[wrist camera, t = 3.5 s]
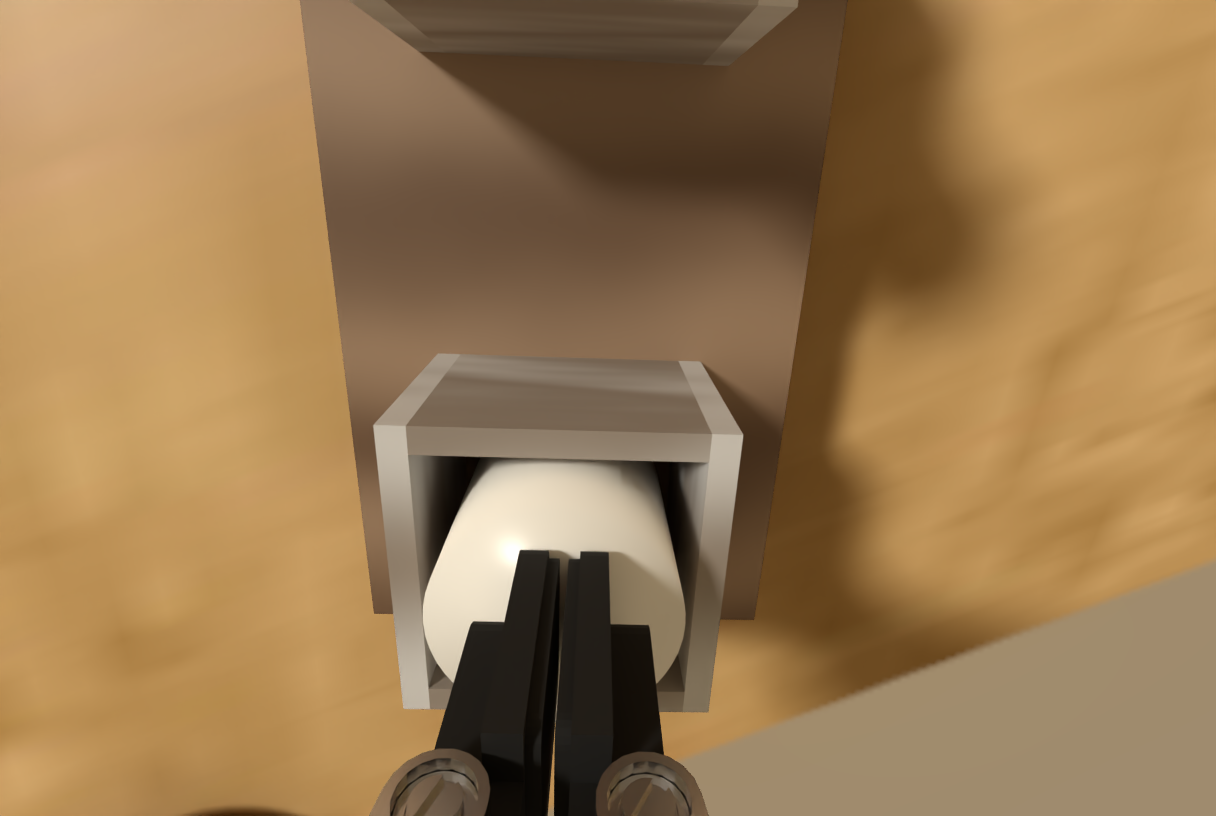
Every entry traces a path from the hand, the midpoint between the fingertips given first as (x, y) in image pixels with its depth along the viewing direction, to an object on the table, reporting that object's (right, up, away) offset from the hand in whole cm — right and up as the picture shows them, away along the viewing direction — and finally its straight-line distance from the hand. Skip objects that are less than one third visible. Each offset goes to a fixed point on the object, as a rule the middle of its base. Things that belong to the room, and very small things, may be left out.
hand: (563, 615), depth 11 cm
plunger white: (0, +2, +5) cm, 5 cm away
